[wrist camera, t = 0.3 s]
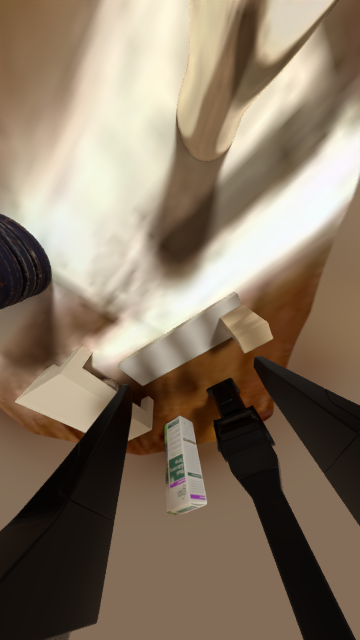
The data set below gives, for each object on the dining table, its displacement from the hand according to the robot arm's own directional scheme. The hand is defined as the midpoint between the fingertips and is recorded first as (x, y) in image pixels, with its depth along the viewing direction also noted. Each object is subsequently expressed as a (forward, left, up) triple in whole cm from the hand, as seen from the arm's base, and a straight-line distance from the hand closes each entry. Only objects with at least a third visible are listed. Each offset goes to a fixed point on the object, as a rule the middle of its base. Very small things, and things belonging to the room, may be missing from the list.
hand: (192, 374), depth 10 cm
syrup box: (-30, +18, -14) cm, 38 cm away
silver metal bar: (-7, +3, -14) cm, 16 cm away
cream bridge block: (-7, +22, -14) cm, 27 cm away
